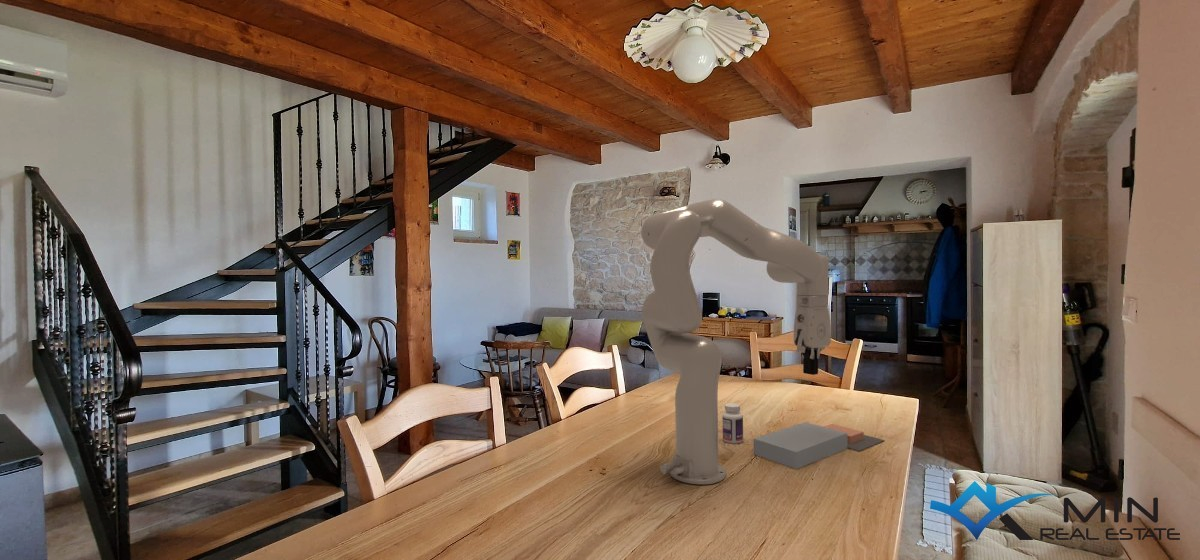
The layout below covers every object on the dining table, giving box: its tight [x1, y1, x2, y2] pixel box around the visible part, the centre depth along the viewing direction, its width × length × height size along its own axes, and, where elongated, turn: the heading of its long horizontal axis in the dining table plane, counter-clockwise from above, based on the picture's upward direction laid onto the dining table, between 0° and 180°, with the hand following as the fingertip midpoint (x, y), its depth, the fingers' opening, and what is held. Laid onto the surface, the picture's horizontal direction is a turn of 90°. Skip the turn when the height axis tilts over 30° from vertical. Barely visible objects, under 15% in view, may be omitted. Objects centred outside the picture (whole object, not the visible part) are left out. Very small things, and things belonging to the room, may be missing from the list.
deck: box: [753, 421, 848, 470], centre depth 130 cm, size 22×12×4 cm, turn 125°
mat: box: [846, 434, 886, 453], centre depth 139 cm, size 13×14×1 cm
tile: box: [822, 423, 865, 444], centre depth 139 cm, size 6×9×2 cm, turn 33°
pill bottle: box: [721, 402, 744, 444], centre depth 139 cm, size 5×5×10 cm
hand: (810, 373), depth 132 cm, fingers closed
